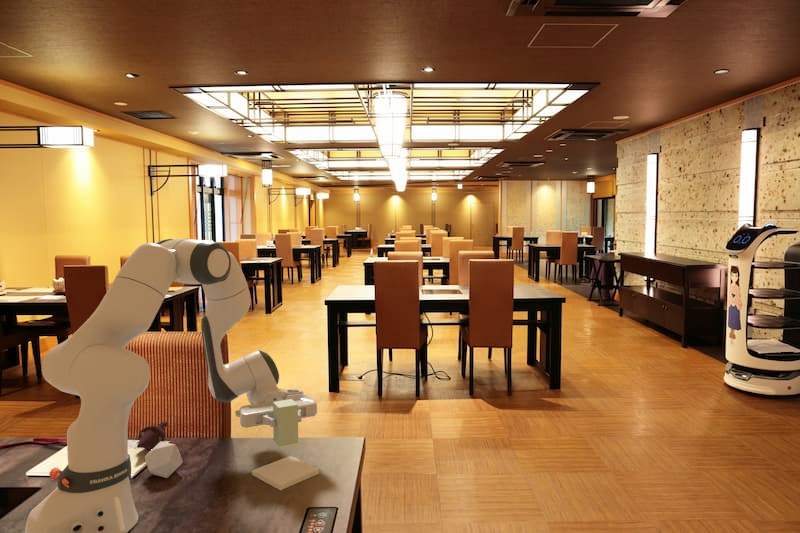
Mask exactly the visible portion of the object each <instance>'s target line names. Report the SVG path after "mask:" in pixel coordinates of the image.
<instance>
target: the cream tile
mask: <svg viewBox="0 0 800 533" xmlns="http://www.w3.org/2000/svg"><path fill="white" fill-rule="evenodd" d="M251 471H252V472H251V476H254V477H255V478H257V479H259V480H261V481H263V482H264V483H265V484H269V485H270V487H271V486H272V487H274V488H275V489H277V490H279V491H282V490H285V489H286V488H289V487H292V486H294V485H296V484H298V483H300V482H303V481H306V480H307V479H310V478H312V477H314V476H317V475H319V474H320V469H319V468H317V467H315V466H313V465H311V464H308V463H307V462H305V461H302V460H301V459H298V458H296V457H294V456H293V455H288V456H286V457H283V458H280V459H278V460H276V461H273V462H271V463H268V464H265V465H262V466H259V467H257V468H254V469H252V470H251Z"/></svg>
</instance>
